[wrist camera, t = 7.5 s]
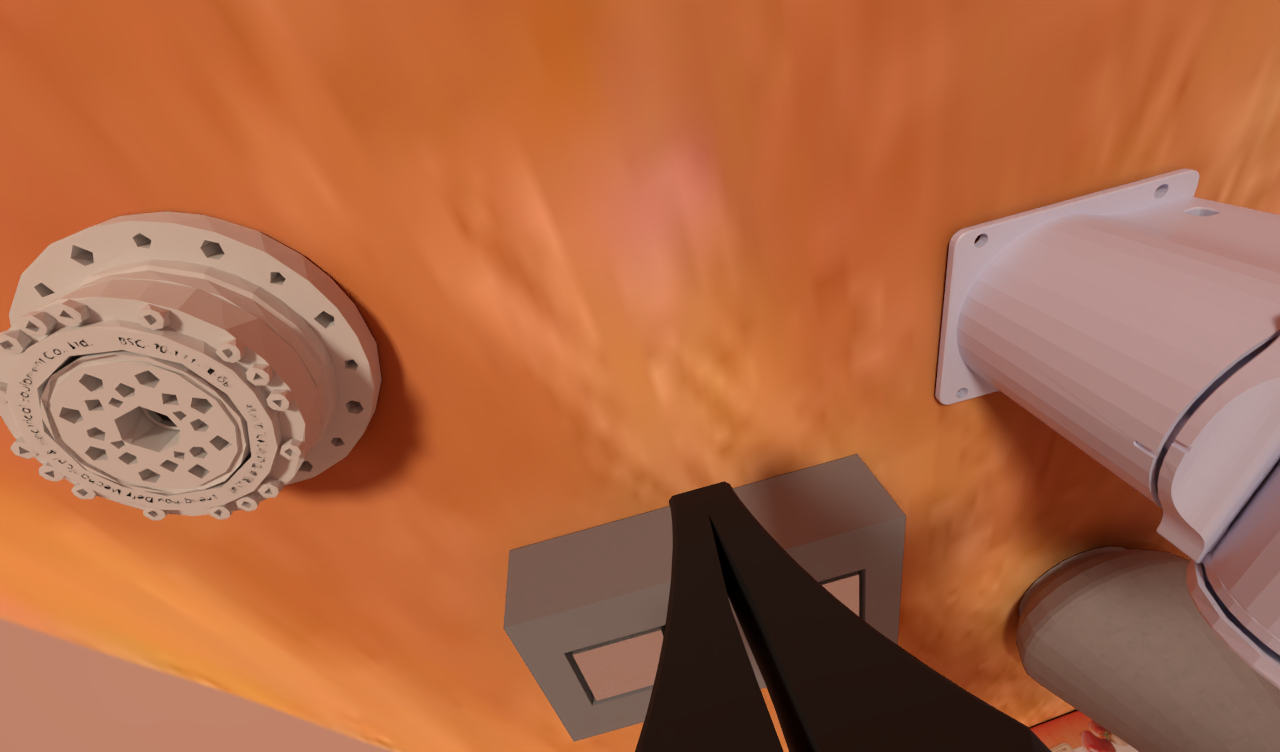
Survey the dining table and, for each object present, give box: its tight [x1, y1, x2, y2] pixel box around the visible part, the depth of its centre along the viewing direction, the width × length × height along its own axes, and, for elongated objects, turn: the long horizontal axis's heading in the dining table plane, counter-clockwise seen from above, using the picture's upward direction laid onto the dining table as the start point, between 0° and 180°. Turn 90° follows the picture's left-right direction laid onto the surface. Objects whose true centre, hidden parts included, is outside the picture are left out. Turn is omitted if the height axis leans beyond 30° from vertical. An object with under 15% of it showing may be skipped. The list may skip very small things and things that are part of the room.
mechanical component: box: [0, 211, 382, 520], centre depth 17 cm, size 10×4×10 cm
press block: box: [504, 454, 906, 741], centre depth 26 cm, size 17×10×4 cm, turn 103°
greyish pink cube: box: [572, 625, 665, 701], centre depth 26 cm, size 4×4×4 cm
